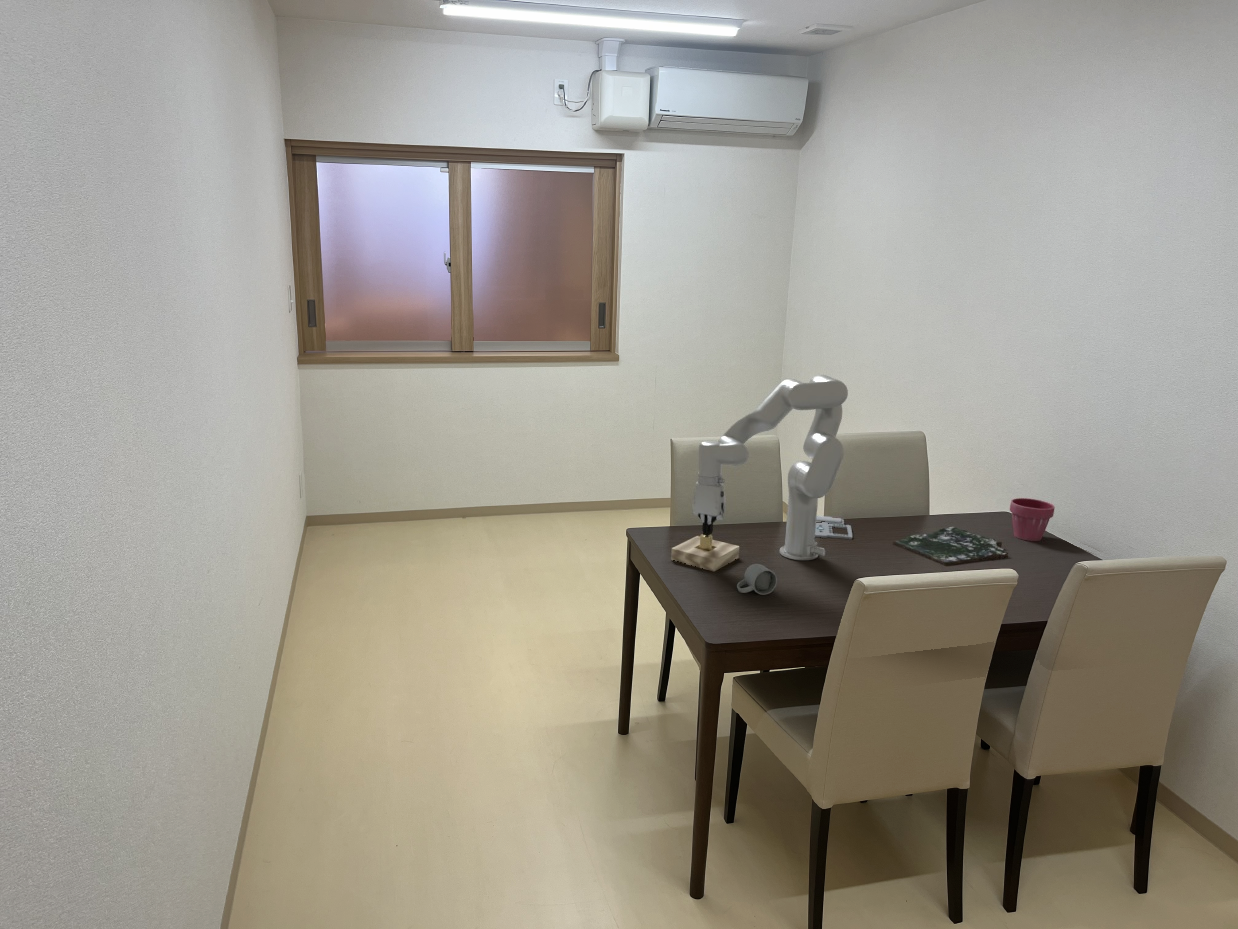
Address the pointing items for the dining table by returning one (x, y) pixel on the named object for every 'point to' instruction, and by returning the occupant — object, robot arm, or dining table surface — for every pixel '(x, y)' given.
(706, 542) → the brass pin
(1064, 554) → the dining table surface
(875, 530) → the dining table surface
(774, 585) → the ceramic mug
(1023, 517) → the plant pot
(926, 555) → the topographical map
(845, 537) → the office telephone
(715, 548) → the block
